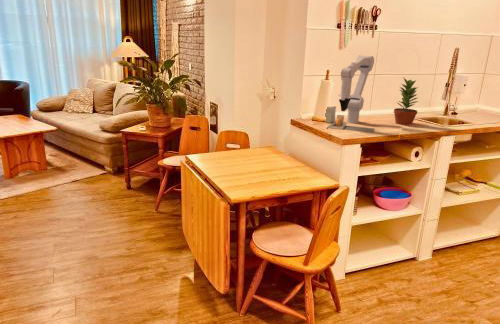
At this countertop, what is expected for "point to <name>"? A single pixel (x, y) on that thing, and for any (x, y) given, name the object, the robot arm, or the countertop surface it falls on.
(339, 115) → the beige open rectangular frame
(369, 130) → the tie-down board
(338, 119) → the post
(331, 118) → the small box
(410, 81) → the potted plant
